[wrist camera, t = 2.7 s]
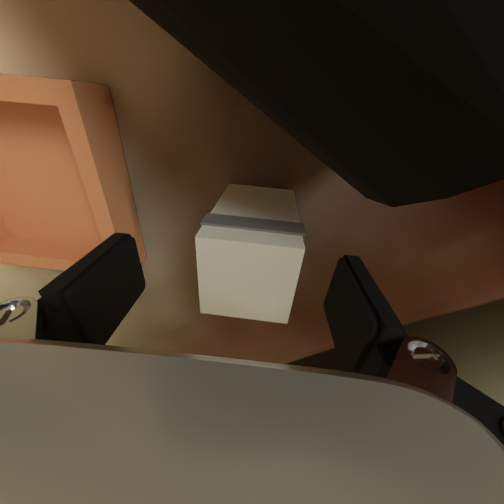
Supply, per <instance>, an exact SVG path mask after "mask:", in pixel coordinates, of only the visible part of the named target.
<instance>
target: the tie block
mask: <svg viewBox="0 0 504 504" xmlns="http://www.w3.org/2000/svg"><path fill="white" fill-rule="evenodd" d="M304 239H305V229H304V225H303V223H300V221H299V216H298V211H297V207H296V202H295V197H294V192H293V190H287V189H277V188H267V187H257V186H247V185H238V184H229V185H228V186H227V188H226V190H225V191H224V193H223V194H222V196H221V197H220V199H219V200H218V202H217V203H216V205H215V207H214V208H213V210H212V211H211V213H206V214H205V216H204V217H203V219H202V220H201V222H200V230H199V231H198V233H197V234H196V236H195V246H196V259H197V273H198V287H199V300H200V313H205V314H213V315H221V316H229V317H237V318H245V319H253V320H261V321H269V322H277V323H285V324H287V323H288V319H289V315H290V311H291V306H292V302H293V298H294V294H295V290H296V286H297V281H298V277H299V273H300V269H301V265H302V261H303V257H304V252H305V246H304Z"/></svg>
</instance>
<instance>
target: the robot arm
mask: <svg viewBox="0 0 504 504" xmlns="http://www.w3.org/2000/svg"><path fill="white" fill-rule="evenodd" d="M144 288H145V279H144V275H143V271H142V266H141V262H140V258H139V253H138V249H137V245H136V240H135V238H134V237H132V236H131V235H130V234H127V233H114V234H112V235H111V236H110V237H108V238H107V239H106V240H105V241H103V242H102V243H101V244H99V245H98V246H97V247H95V248H94V249H93V250H92V251H90V252H89V253H88V254H86V255H85V256H84V257H82V258H81V259H80V260H78V261H77V262H76V263H75V264H73V265H72V266H71V267H69V268H68V269H67V270H65V271H64V272H63V273H62V274H60V275H59V276H58V277H56V278H55V279H54V280H52V281H51V282H50V283H49V284H47V285H46V286H45V287H43V288H42V289H41V290H39V291H38V292H39V293H40V295H41V298H40V299H39V300H36V299H35V298H33V297H28V296H23V297H15V298H11V299H8V300H5V301H2V302H0V504H504V406H502V405H501V404H499V403H498V402H496V401H494V400H493V399H491V398H490V397H488V396H486V395H485V394H483V393H482V392H481V391H479V390H477V389H476V388H474V387H473V386H471V385H470V384H468V383H466V382H465V381H463V380H462V379H460V378H459V377H457V369H456V366H455V364H454V362H453V360H452V359H451V358H450V356H449V355H448V354H447V353H446V352H445V351H444V350H442V349H441V348H440V347H439V346H437V345H435V344H434V343H432V342H430V341H428V340H426V339H423V338H419V337H409V336H408V335H407V333H406V332H405V329H404V327H403V326H402V324H401V322H400V321H399V319H398V318H397V316H396V314H395V313H394V311H393V310H392V308H391V306H390V305H389V303H388V302H387V300H386V299H385V297H384V295H383V294H382V292H381V291H380V289H379V287H378V286H377V284H376V283H375V281H374V280H373V278H372V276H371V275H370V273H369V272H368V270H367V268H366V267H365V265H364V264H363V262H362V261H361V259H360V257H359V256H350V255H344V256H343V258H339V260H338V263H337V266H336V268H335V271H334V274H333V277H332V280H331V283H330V286H329V289H328V292H327V295H326V298H325V301H324V310H325V313H326V317H327V320H328V324H329V327H330V331H331V334H332V338H333V341H334V345H335V348H336V352H337V355H338V359H339V363H340V366H341V370H342V371H337V370H329V369H321V368H314V367H304V366H296V365H287V364H278V363H270V362H261V361H252V360H243V359H234V358H224V357H215V356H206V355H196V354H187V353H177V352H168V351H159V350H149V349H139V348H129V347H119V346H109V345H105V344H106V342H107V341H108V340H109V338H110V337H111V335H112V334H113V333H114V331H115V330H116V328H117V327H118V326H119V324H120V323H121V321H122V320H123V319H124V317H125V316H126V314H127V313H128V312H129V310H130V309H131V307H132V306H133V305H134V303H135V302H136V300H137V299H138V298H139V296H140V295H141V293H142V292H143V290H144Z"/></svg>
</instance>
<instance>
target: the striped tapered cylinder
mask: <svg viewBox="0 0 504 504" xmlns="http://www.w3.org/2000/svg"><path fill="white" fill-rule="evenodd" d="M129 1H130V2H132V3H133V4H134V5H135V6H136V7H138V8H139V9H140V10H141V11H142V12H144V13H145V14H146V15H147V16H148V17H150V18H151V19H152V20H153V21H154V22H156V23H157V24H158V25H159V26H160V27H162V28H163V29H164V30H165V31H166V32H168V33H169V34H170V35H171V36H172V37H174V38H175V39H176V40H177V41H178V42H180V43H181V44H182V45H183V46H184V47H186V48H187V49H188V50H189V51H190V52H192V53H193V54H194V55H195V56H196V57H198V58H199V59H200V60H201V61H202V62H204V63H205V64H206V65H207V66H208V67H210V68H211V69H212V70H213V71H214V72H216V73H217V74H218V75H219V76H220V77H222V78H223V79H224V80H225V81H226V82H228V83H229V84H230V85H231V86H232V87H234V88H235V89H236V90H237V91H238V92H240V93H241V94H242V95H243V96H245V97H246V98H247V99H248V100H249V101H251V102H252V103H253V104H254V105H255V106H257V107H258V108H259V109H260V110H261V111H263V112H264V113H265V114H266V115H267V116H269V117H270V118H271V119H272V120H273V121H275V122H276V123H277V124H278V125H279V126H281V127H282V128H283V129H284V130H285V131H287V132H288V133H289V134H290V135H291V136H293V137H294V138H295V139H296V140H297V141H299V142H300V143H301V144H302V145H303V146H305V147H306V148H307V149H308V150H309V151H311V152H312V153H313V154H314V155H315V156H317V157H318V158H319V159H320V160H321V161H323V162H324V163H325V164H326V165H327V166H329V167H330V168H331V169H332V170H333V171H335V172H336V173H337V174H338V175H339V176H341V177H342V178H343V179H344V180H345V181H347V182H348V183H349V184H350V185H351V186H353V187H354V188H355V189H356V190H357V191H359V192H360V193H361V194H362V195H363V196H365V197H366V198H368V199H371V200H374V201H377V202H380V203H383V204H385V205H388V206H391V207H397V206H402V205H408V204H414V203H420V202H426V201H432V200H438V199H444V198H449V197H452V196H455V195H458V194H461V193H464V192H467V191H470V190H473V189H476V188H479V187H481V186H484V185H487V184H490V183H493V182H496V181H499V180H502V179H504V0H129Z"/></svg>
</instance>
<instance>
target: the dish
mask: <svg viewBox="0 0 504 504" xmlns="http://www.w3.org/2000/svg"><path fill="white" fill-rule="evenodd" d="M114 233H127V234H130V235H131V236H132V237H134V238H135V240H136V245H137V249H138V253H139V258H140V262H141V264H142V263H143V261H144V260H145V259H146V258H147V257H146V252H145V248H144V243H143V239H142V234H141V230H140V225H139V221H138V216H137V212H136V207H135V202H134V198H133V193H132V189H131V184H130V180H129V175H128V171H127V166H126V162H125V157H124V153H123V148H122V144H121V139H120V134H119V130H118V125H117V121H116V116H115V112H114V107H113V103H112V98H111V94H110V89H109V86H107V85H100V84H93V83H86V82H79V81H73V80H63V79H51V78H39V77H28V76H16V75H5V74H0V263H3V264H12V265H20V266H28V267H37V268H45V269H53V270H62V271H65V270H67V269H68V268H69V267H71V266H72V265H73V264H75V263H76V262H77V261H78V260H80V259H81V258H82V257H84V256H85V255H86V254H88V253H89V252H90V251H92V250H93V249H94V248H95V247H97V246H98V245H99V244H101V243H102V242H103V241H105V240H106V239H107V238H108V237H110V236H111V235H112V234H114Z"/></svg>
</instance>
